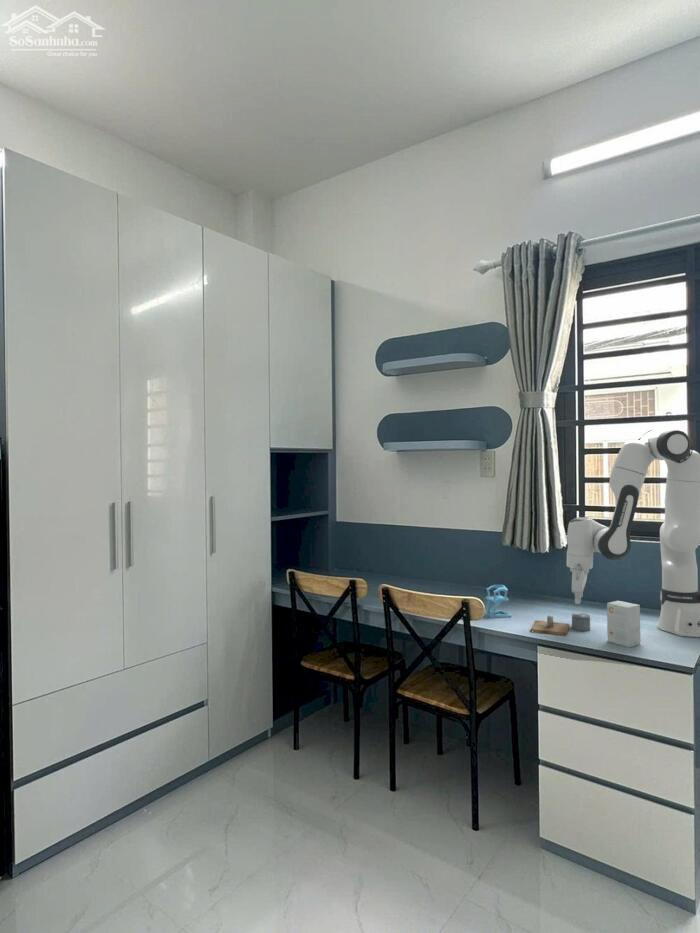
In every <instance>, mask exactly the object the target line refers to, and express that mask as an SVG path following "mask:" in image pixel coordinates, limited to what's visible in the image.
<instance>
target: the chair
mask: <svg viewBox="0 0 700 933" xmlns="http://www.w3.org/2000/svg"><path fill="white" fill-rule="evenodd" d="M485 589H486V592H487V596H485V599H486V601H487V602H486V603H487V604H486V613H485V614H486V615H485V616H486V617H489V618H494V619H495V618H512V617H513V616H512V614H511V613H508V612H506V611H503V610H501V609H499V610H497V609H498V607H499V606H500V604H502V603H505V602H509V600H510V598H508V597H507V595H508V590H509V589H508V587H506V586H505V585H504V584H493V585H490V586H489V587H487V588H485ZM492 589H495V590H493V595H492V596H491V592H490V590H492ZM501 592H504V595H503V596H502V595H501ZM492 602H493V603H494V606H493V608H492ZM491 608H492V610H491Z"/></svg>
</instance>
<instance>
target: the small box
mask: <svg viewBox="0 0 700 933" xmlns="http://www.w3.org/2000/svg"><path fill="white" fill-rule="evenodd" d="M640 606H641V605H640V604H637V603H631V602H627V601H621V600H614V601H610V602H607V603H606V613H607V614H606V618H607V619H606V624H607V625H606V626H607V628H606V629H607V630H606V631H607V632H606V633H607V635H606V636H607V642H609V643H612V644H616V645H620V646H622V647H626V648H632V647H635V646H638V645H641V607H640Z"/></svg>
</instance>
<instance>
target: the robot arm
mask: <svg viewBox="0 0 700 933" xmlns="http://www.w3.org/2000/svg"><path fill="white" fill-rule="evenodd" d="M655 460H658V461H664V462H665V463H666V466H667V474H666V481H665V482H666V483H665V492H664V493H665V495H664V521H663V523H662V524H661V526H660V528H659V544H660V545H659V546H660V556H661V558H660V561H661V588H660V603H661V605H660V606H661V607H660V615H659V619H658V622H657V625H656V627H657V628H658V629H660V630H661V631H664V632H668V633H672V634H675V635H677V636H680V637H693V638H700V590H699V589H698V588H699V585H698V584H699V583H698V582H699V581H698V578H699V577H698V576H699V575H698V573H699V572H698V569H699V568H698V563H697V556H696V549H698V547H699V546H700V453H699V452H698V451H696V450H694V448H693V446H692V442H691V440H690V437H689V435H688V434H687V433H686V432H684V431H683V430H681V429H678V428H668V427H667V428H665V427H664V428H663V427H662V428H658V429H652V430H648V431H647V432H645V433H644V434H642V435H641V436H640V437H639V439H636V440H628V441H626V442H625V443H623V444H622V446H621V448H620V450H619V452H618V453H617V456H616V457H615V460H614V463H613V467H612V468H611V471H610V476H609V483H608V484H609V488H610V489H611V491H612V493H613V495H614V497H615V507H614V511H613V515H612V519H611V521H610V525H609V526H606V525H604V524H601V523H599V522H597V521H596V520H594V519H592V517H589V516H579V517H575V518H574V517H573V519H571V520H569V523H568V527H567V534H566V542H567V551H566V567H567V568H569V571H570V572H571V573H572V575H571V593H573V594H574V604H576V605H580V604H581V600H582V598H583V592H584V589H585V587H586V583H587V579H588V574H589V573H590V570H592V569H593V567H594V553H599V554H601V555H602V556H603V557H604V558H606V559H607V560H611V561H620V560H622V559H624V558H626V557H627V556H628V555H629V553H630V552H631V551H630V550H631V548H632V542H631V531H632V530H631V529H632V527H633V526H632V525H633V522H634V518H635V514H636V510H637V505H638V501H639V497H640V494H641V490H642V488H643V486H644V482H645V479H646V477H647V473H648V470H649V467H650V465H651V464H652V463H653V462H654V461H655Z"/></svg>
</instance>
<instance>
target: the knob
mask: <svg viewBox="0 0 700 933" xmlns="http://www.w3.org/2000/svg"><path fill="white" fill-rule="evenodd" d="M571 629H572V630H575V631H580V632H588V631H591V615H590V614H588V613H583V612H572V613H571Z"/></svg>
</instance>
